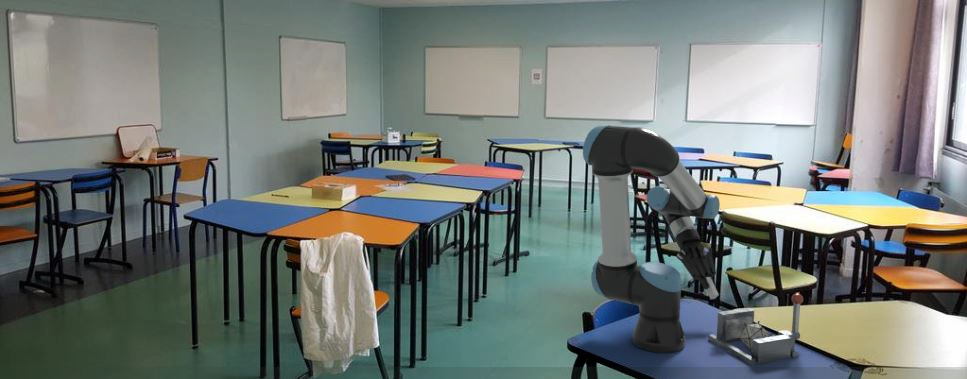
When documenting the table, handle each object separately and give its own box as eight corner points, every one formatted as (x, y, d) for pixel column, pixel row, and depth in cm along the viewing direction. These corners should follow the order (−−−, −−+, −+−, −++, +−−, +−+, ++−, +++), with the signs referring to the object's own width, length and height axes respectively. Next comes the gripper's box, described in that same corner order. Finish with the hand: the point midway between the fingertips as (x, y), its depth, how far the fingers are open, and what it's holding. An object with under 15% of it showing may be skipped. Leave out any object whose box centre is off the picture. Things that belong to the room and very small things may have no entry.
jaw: (716, 339, 207) (717, 312, 205) (747, 334, 210) (748, 307, 209) (722, 342, 204) (724, 315, 203) (753, 337, 207) (755, 310, 206)
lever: (786, 338, 200) (789, 292, 198) (795, 336, 201) (798, 291, 199) (794, 341, 197) (797, 296, 195) (802, 340, 198) (805, 294, 196)
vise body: (708, 339, 207) (709, 320, 206) (756, 331, 212) (757, 313, 211) (750, 364, 189) (752, 344, 188) (802, 355, 195) (803, 335, 194)
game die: (759, 363, 199) (776, 345, 192) (731, 352, 200) (746, 333, 193) (761, 339, 205) (778, 321, 198) (734, 328, 206) (749, 309, 199)
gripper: (696, 237, 235) (726, 299, 223) (663, 241, 231) (691, 305, 218) (707, 225, 229) (738, 289, 217) (673, 229, 225) (703, 294, 212)
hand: (714, 297), depth 218 cm, fingers closed
